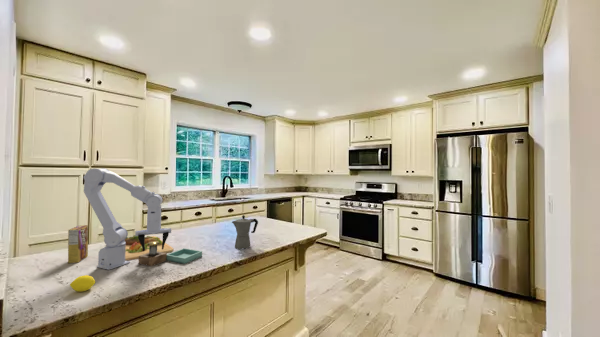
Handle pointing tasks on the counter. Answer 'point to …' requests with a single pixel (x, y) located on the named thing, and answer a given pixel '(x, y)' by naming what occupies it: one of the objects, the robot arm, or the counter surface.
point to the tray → (184, 255)
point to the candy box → (77, 243)
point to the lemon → (82, 283)
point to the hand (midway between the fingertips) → (153, 249)
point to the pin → (153, 248)
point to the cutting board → (136, 249)
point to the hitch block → (152, 259)
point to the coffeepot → (243, 232)
